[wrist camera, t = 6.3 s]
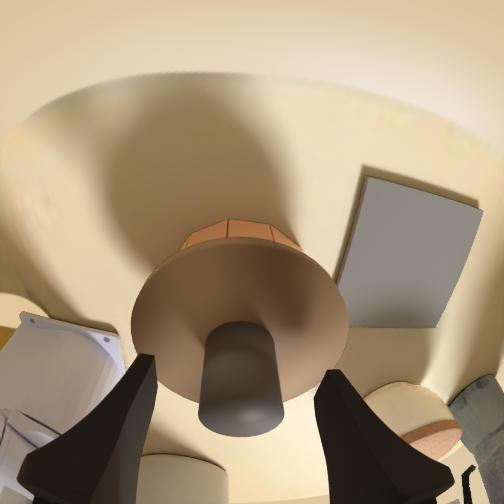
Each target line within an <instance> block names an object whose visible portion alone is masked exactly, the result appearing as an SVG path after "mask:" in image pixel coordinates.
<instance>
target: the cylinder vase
mask: <svg viewBox="0 0 504 504" xmlns="http://www.w3.org/2000/svg"><path fill="white" fill-rule="evenodd" d="M136 504H229V478H228V475H227V474H226V472H225V471H223V470H222V469H221V468H219V467H217V466H216V465H213V464H211V463H208V462H206V461H202V460H199V459H195V458H190V457H185V456H178V455H168V454H154V455H147V456H143V457H141V460H140V467H139V474H138V483H137V493H136Z"/></svg>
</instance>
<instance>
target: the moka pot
mask: <svg viewBox="0 0 504 504" xmlns="http://www.w3.org/2000/svg"><path fill="white" fill-rule="evenodd" d="M449 409H450V411H451V413H452V414H453V416H454V418H455V420H456V421H457V422H458V423H459V425H460V427H461V428H462V435H461V438H460V440H461V442H462V443H463V444H464V445H465V446H466V447H467V449H468V450H469V451H470V452H471V453H472V454H473V455H474V457H475V459H476V461H477V464H478V465H479V468H478V469H479V472H480V474H481V477H482V480H483V483H484V486H485V489H486V492H487V495H488V498H489V502H490V504H504V392H503V390H502V389H501V387H500V385H499V383H498V382H497V380H496V379H495V377H494V376H493V375H486V376H484V377H482V378H480V379H478V380H476V381H475V382H473V383H472V384H471V385H470V386H468V387H467V388H466V389H465V390H464V391H463V392H462V393H460V394H459V395H458V396H457V398H456V399H455V400H454V401H453V402H452V404H451V405H450V406H449ZM475 468H476V467H475V466H473V465H471V466H470V467H469V468H468V469H467V470H466V471H465V472H464V473H463V474H462V475H461V476H462V487H463V496H464V504H472V498H471V491H470V487H469V475H470V473H471V472H473V471H474V470H475Z"/></svg>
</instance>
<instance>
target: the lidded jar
mask: <svg viewBox="0 0 504 504" xmlns="http://www.w3.org/2000/svg"><path fill="white" fill-rule="evenodd" d="M363 400H364V401H365V402H366V403H367V405H368V406H369V407H370V408H371V409H372V410H373V412H374V413H375V414H376V415H377V416H378V417H379V418H380V419H381V420H382V421H383V422H384V423H385V424H386V425H387V426H388V427H389V428H390V429H391V430H392V431H393V432H395V433H396V434H397V435H398V436H399V437H400V438H402V439H403V440H404V441H406V442H407V443H408V444H410V445H411V446H412V447H414V448H415V449H417V450H418V451H420V452H421V453H423V454H425V455H426V456H428V457H430V458H431V459H433V460H435V461H437V460H439V459H440V458H441V457H443V456H444V455H445V454H446V453H448V452H449V451H450V450H451V449H452V448H453V447H454V446H455V445H456V443H457V442H458V441H459V439H460V438H461V435H462V428H461V427H460V425H459V423H458V422H457V421H456V420H455V418H454V416H453V414H452V413H451V411H450V409H449V408H448V406H447V405H446V404H445V402H444V401H443V400H442V399H441V398H440V397H439V396H438V395H437V394H436V393H434V392H433V391H431V390H430V389H428V388H426V387H423V386H420V385H414V384H409V383H407V382H394V383H390V384H387V385H385V386H382V387H380V388H378V389H376V390H375V391H373V392H371V393H370V394H369V395H367V396H366V397H365V398H364V399H363Z"/></svg>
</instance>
